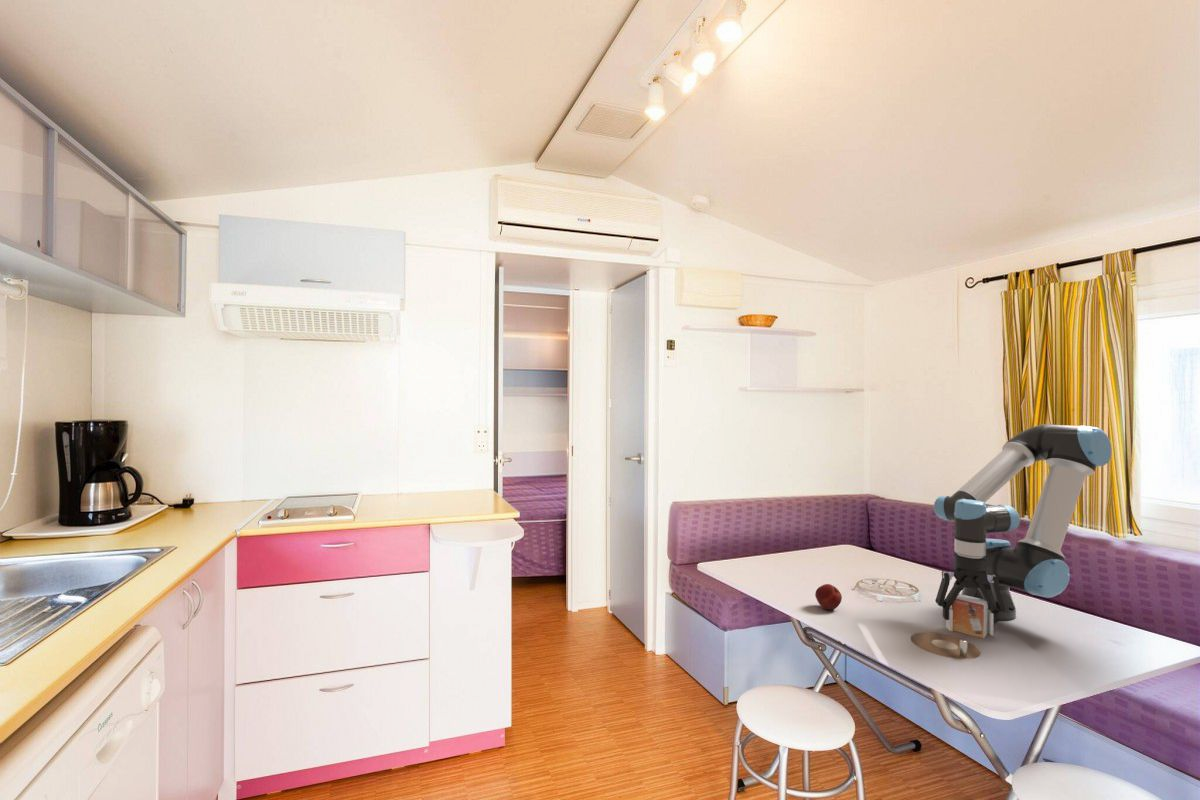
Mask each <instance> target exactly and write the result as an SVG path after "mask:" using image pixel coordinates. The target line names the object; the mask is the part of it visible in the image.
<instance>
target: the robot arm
mask: <svg viewBox="0 0 1200 800" xmlns="http://www.w3.org/2000/svg"><path fill="white" fill-rule="evenodd" d="M1112 453H1113V452H1112V444H1111V441H1110V437H1109V436H1108V434H1107V433H1106V432H1105V431H1104V430H1103V429H1101V428H1099V427H1096V426H1087V425H1082V424H1081V425H1069V424H1068V425H1065V424H1049V423H1047V424H1045V423H1044V424H1039V425H1035V426H1032V427H1029V428H1027V429H1024V430H1023V431H1021V432H1019V433H1017V434H1016V435H1014V436H1012V437H1011V438H1010V439H1009V440H1008V441H1006V442H1005V443H1004V444H1003V446H1002V448H1001V452H999V453H998V454H997V455H996V456H994V458H992V459H991V460H990V461H989V462H988V463H987V464H986V465H985V466H983V467H982V468H981V469H980V470H979V471H977V473H976V474H975V475H973V476H972V477H971V478H970V479H969V480H968V481H967V482H965V483H964V484H963V485H962V486H961V487H960V488H959V489H958V490H957V491H956V492H955V493H953V494H952V495H951V496H949V495H941V496H938V497H937V498H936V499H935V501H934V503H933V510H934V513H935V515H936V517H938V518H939V519H941V520H944V521H947V522H950V523H951V522H952V523H954V540H953V541H954V542H953V543H954V552H955V553H954V556H953V557H954V558H953V561H954V562H953V563H954V564H953V567H954V568H953V571H945V570H942V571H941V581H940V584H939V588H938V591H937V594H936V598H935V603H936V604H937V606H939V607H941V608H942V618H943V619H944V620H945V627H946V629H947V630H948V631H949V632H953V631H954V630H953V610H952V604H953V602H954V601H955V599H956V598H957V596H958V595H959V594H961V595H966V596H970V597H975V598H980V599H985V600H986V601H987V603H988V633H987V635H988V634H989V635H990V636H994V625H997V623H998V620H999V621H1000V620H1002V621H1003V620H1007V621H1010V620H1013V619H1016V617H1017V608H1016V605H1015V602H1014V600H1013V596H1012V594H1011V592H1010V591H1011V590H1010V588H1012V589H1013V588H1014V589H1016V590H1020V591H1023V592H1026V593H1028V594H1030V595H1033V596H1038V597H1043V598H1054V597H1056V596H1058V595H1060V594H1062V593H1063V592H1064V591H1065V589H1066V588H1067V587H1068V584H1069V582H1070V578H1071V574H1070V567H1069V566H1068V564H1067V563H1066V562H1065V559H1066V556H1065V555H1064V554H1063V552H1062V546H1063V544H1064V541H1065V537H1066V535H1067V533H1068V529H1069V527H1070V524H1071V521H1072V517H1073V514H1074V511H1075V509H1076V506H1077V503H1078V500H1079V497H1080V494H1081V491H1082V488H1083V486H1084V482H1085V480H1086V478H1087V477H1090V476H1092V475H1094V474H1095V471H1096V468H1097V467H1103V466H1106V465H1107V464H1108V463H1109V462H1110V460H1111V458H1112ZM1039 461H1045V463H1046V464H1047V465H1048V467H1049V470H1048V472H1047V475H1046V479H1045V481H1044V484H1043V486H1042V490H1041V491H1040V492H1041V493H1040V495H1039V498H1038V501H1037V503H1036V507H1035V509H1034V512H1033V515H1032V518H1031V520H1030V523H1029V527H1028V529H1027V531H1026V535H1025V537H1024V538H1023V539H1020V540H1018V541H1017V542H1016V543H1015V546H1014V548H1013V547H1012V544H1011V542H1010V540H1006V539H999V538H987V534H990V533H1007V532H1010V531H1014V530H1016V529H1017V528H1018V527H1019V526H1020V522H1021V519H1020V518H1021V517H1020V514H1019V513H1018V511H1017V510H1016V509H1015V508H1014V507H1013V506H1010V505H1008V504H1004V505H1003V504H997V505H995V504H988V503H987V501H988V500H990V499H991V498H992V497H993V496H994V495H995V494H996V493H998V491H1000V489H1002V488H1003V487H1004V486H1005V485H1006V484H1007V483H1009V481H1011V479H1013V478H1014V477H1015V476H1016V475H1018V473H1019V472H1021V471H1022V470H1023V469H1024V467H1025V468H1028V467H1030V466H1033V464H1034V463H1037V462H1039ZM952 578H955V581H954V583H953V586H952V587H951V589H950V590H949V592H948V589H949V586H950V582H951V580H952ZM947 593H948V594H947Z"/></svg>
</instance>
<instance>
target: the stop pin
mask: <svg viewBox="0 0 1200 800" xmlns="http://www.w3.org/2000/svg"><path fill="white" fill-rule="evenodd" d="M967 642H968V641H967V640H966V639H962V638H960V656H961V657H964V658H967Z"/></svg>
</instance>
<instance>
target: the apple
mask: <svg viewBox="0 0 1200 800" xmlns="http://www.w3.org/2000/svg"><path fill="white" fill-rule="evenodd" d="M842 596H843V595H842V593H841V592H840V590H839V589H838V588H837V587H836V586H834V585H832V584H830V583H826V584H825V583H824V584H823V585H820V586H818V588H817V589H816V590H815V595H814V597H815V599H816V601H817V603H818V604H819V606H820V607H821V608H823V609H824V610H828V611H832V610H835V609H837V608H838V607H839V606H840V604H841V603H842V599H843V597H842Z"/></svg>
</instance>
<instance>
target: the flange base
mask: <svg viewBox="0 0 1200 800" xmlns="http://www.w3.org/2000/svg"><path fill="white" fill-rule="evenodd" d="M960 639H961V638H960V637H956V636H953V635H949V634H944V633H939V632H928V631H927V632H926V631H925V632H917V633H916V632H915V633H913V634H912V635H911V636H910V640H911V642H912V643H913V644H914V645H915V646H916V647H918V648H920V649H921V650H924V651H926V652H929V653H931V654H935V655H937V656H938V655H939V656H941V657H946V658H951V659H957V660H958V659H959V660H972V659H977V658H979V657H980V656H981V655H982V652H981V650H980V649H979V648H978V646H976V645H975V644H972V643H971V642H970V641H967V658H964V657H961V656H960Z"/></svg>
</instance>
